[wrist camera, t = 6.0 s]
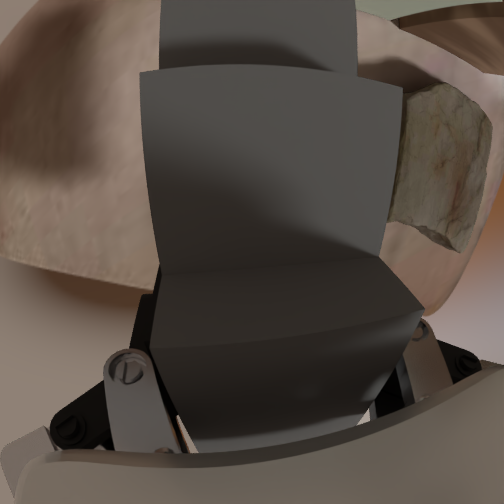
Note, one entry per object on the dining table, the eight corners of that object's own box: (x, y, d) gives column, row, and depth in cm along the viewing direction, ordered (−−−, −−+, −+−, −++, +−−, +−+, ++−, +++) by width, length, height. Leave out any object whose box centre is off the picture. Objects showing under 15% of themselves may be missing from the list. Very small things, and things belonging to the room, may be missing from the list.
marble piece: (445, 242, 27) (466, 260, 24) (347, 239, 25) (369, 263, 21) (476, 111, 19) (504, 118, 16) (378, 62, 17) (409, 58, 13)
